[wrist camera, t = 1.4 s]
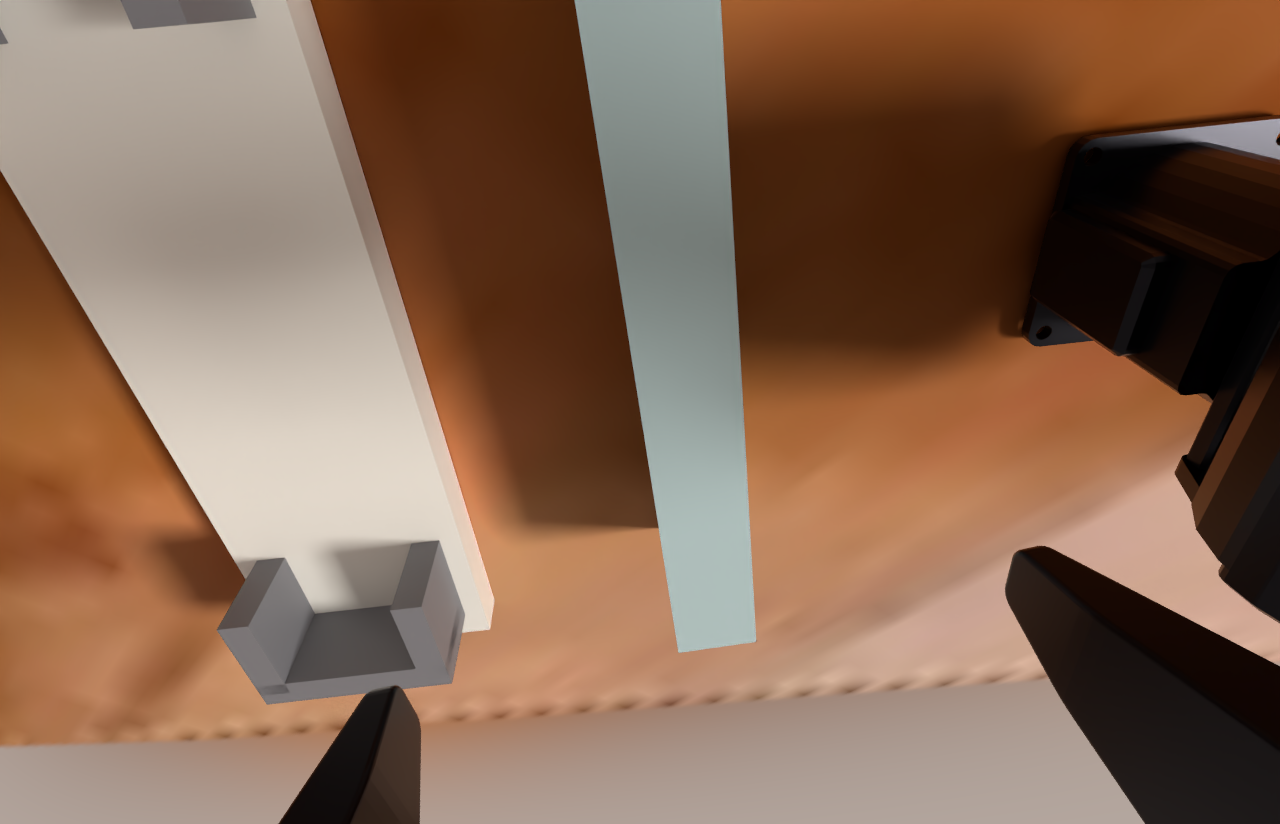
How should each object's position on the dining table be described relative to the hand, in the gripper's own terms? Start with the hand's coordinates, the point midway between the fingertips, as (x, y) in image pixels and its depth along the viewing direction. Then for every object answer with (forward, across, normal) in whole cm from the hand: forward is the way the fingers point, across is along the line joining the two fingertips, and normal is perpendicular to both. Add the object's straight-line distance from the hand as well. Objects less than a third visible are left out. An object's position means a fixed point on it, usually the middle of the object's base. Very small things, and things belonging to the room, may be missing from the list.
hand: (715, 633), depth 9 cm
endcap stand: (+14, +10, 0) cm, 17 cm away
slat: (+13, -2, 0) cm, 13 cm away
